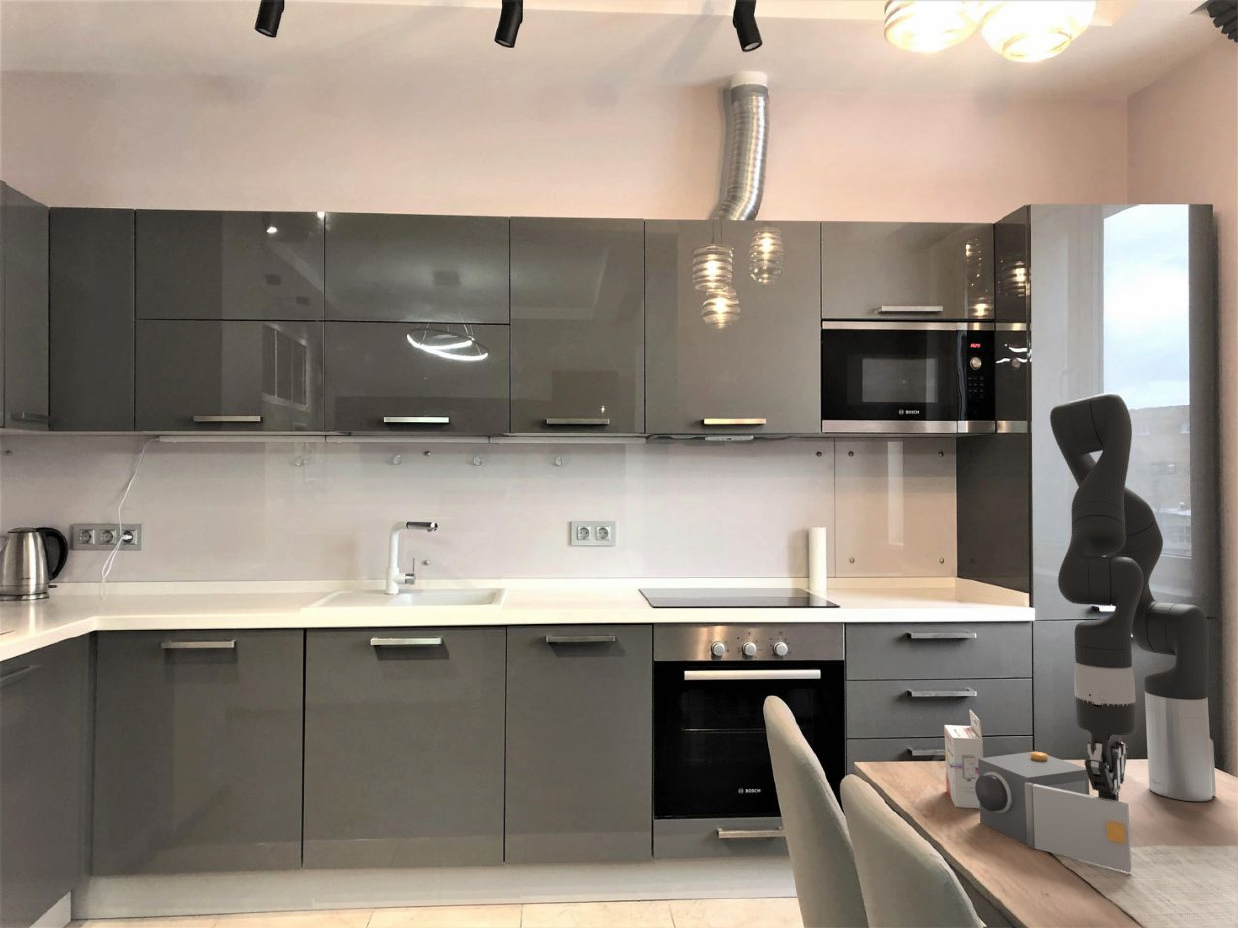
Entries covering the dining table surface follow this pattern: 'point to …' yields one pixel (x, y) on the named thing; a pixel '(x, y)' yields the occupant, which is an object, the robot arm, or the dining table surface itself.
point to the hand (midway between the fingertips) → (1109, 817)
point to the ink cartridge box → (963, 762)
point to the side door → (1078, 826)
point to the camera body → (1021, 787)
